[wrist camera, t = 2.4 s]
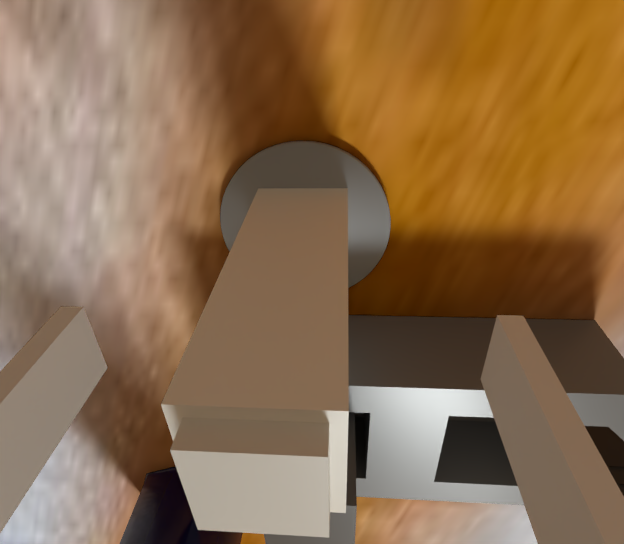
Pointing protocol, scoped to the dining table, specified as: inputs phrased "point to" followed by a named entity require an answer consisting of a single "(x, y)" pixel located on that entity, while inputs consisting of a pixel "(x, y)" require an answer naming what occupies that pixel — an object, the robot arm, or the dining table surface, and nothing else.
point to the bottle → (168, 515)
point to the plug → (270, 374)
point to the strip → (450, 408)
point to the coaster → (315, 174)
